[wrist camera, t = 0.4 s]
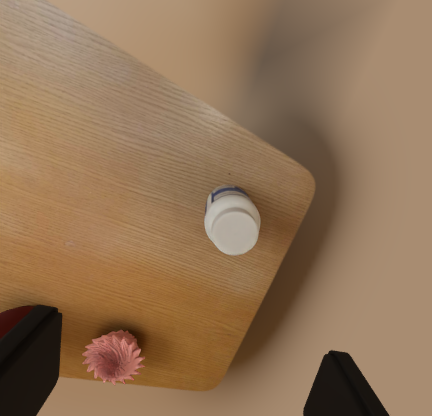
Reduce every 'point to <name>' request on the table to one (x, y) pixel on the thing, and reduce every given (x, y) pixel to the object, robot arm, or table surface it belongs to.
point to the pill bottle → (231, 220)
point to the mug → (12, 318)
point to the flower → (114, 356)
